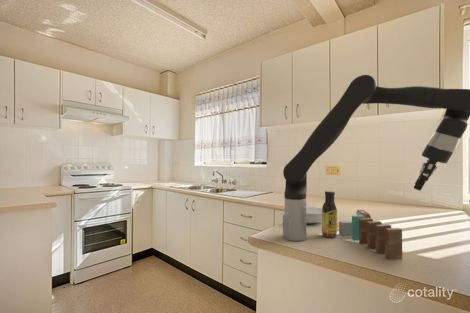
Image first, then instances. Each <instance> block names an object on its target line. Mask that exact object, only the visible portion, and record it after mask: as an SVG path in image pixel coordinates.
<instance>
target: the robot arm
mask: <svg viewBox="0 0 470 313" xmlns="http://www.w3.org/2000/svg"><path fill="white" fill-rule="evenodd" d="M362 104H363V105H364V104H369V105H370V104H388V105H400V106H401V105H403V106H411V107H417V108H426V109H444V110H445V112H444V113H443V114H444V115H443V117H442V119H441V121H440V122H439V125H438V126H437V128H436V129H435V130H434V133H433V135H431V137H429V138H430V139H429V140H428V142H427V144H426V146H425V148H424V150H423V151H422V153H421V156H422V157H424V158H427V160H426V162H425V161H424V162H423V163H422V166H421V169H420V170H419V175H418V177H417V179H416V180H415V182H414V186H413V189H415V190H417V191H419V192H420V191H422V189H423V188H424V186H425V184H426V182H427V181H429V180H430V178H431V177H432V176H433V174H434V172H435V171H436V170H437V168H438V166H437V163H440V164H441V163H442V164H447V163H448V162H449V160H450V159H451V157H452V155H453V153H455V150H456V148H457V147H458V145H459V143H460V141H461V138H462V137H463V135H464V134H465V132H466V130H467V127H468V126H469V124H468V121H469V119H470V88H441V87H435V86H434V87H433V86H425V85H424V86H422V85H421V86H420V85H419V86H417V85H416V86H403V87H383V86H378V85H377V83H376V80H375V78H374V77H373V76H371V75H369V74H362V75H359V76H357V77H355V78H354V79H353V80H352V81H351V82H350V84H348V87H347V88H346V90H345V91H344V93H343V94H342V96H341V97H340V99H339V100H338V101H337V103H336V104H335V105H334V106H333V108H332V109H331V110H330V111H329V112H328V113H327V114H326V115H325V117H324V118H323V119H322V120H321V121H320V123H319V124H318V125H317V126H316V128H315V129H314V130H313V132H312V133H311V134H310V136H309V137H308V139H307V140H306V141H305V143H304V145H303V146H302V148H301V149H300V150H299V151H298V152H297V154H295V155H294V157H293V158H292V159H290V161H289V162H288V163H287V164H285V166H284V167H283V171H282V172H283V174H282V175H283V179H285V188H284V196H283V197H284V214H282V236H283V238H285V239H286V240H287V241H294V242H301V241H302V242H303V241H306V240H307V223H306V206H307V192H308V191H307V189H308V188H307V185H308V184H307V182H308V181H307V180H308V179H307V178H308V176H307V173H308V172H309V169H310V168H311V167H312V166H313V164H314V163H315V161H317V160H318V158H320V157H321V156H322V155H323V154H325V152H326V151H327V150H328V149H329V148H330V147H331V146H332V145H333V144H334V143H335V142H336V141H337V139H338V138H339V137H340V135H341V134H342V133H343V131H344V130H345V129H346V127H347V125H348V123H349V121H350V119H351V118H352V116H353V114H355V112H356V111H357V110H358V108H359V107H361V105H362Z"/></svg>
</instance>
